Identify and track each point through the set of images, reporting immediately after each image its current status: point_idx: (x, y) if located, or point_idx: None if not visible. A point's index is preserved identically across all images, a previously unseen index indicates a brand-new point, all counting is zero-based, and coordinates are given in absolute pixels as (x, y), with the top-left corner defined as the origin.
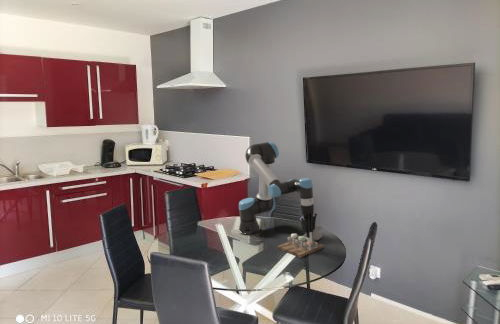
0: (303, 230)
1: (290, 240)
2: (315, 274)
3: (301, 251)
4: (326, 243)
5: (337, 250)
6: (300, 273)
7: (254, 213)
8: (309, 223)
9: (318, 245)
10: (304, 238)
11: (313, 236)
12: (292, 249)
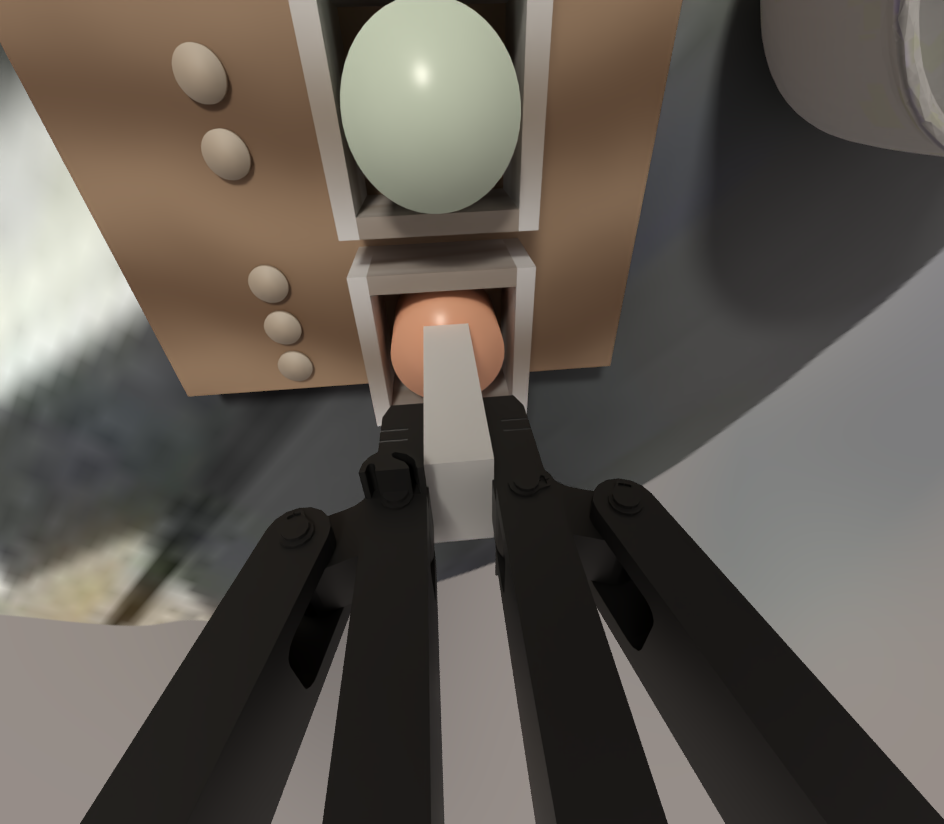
0: (255, 575)
1: None
2: (199, 612)
3: (259, 332)
4: (747, 276)
5: (620, 469)
6: (87, 570)
7: None
8: (538, 791)
9: (570, 339)
10: (457, 205)
11: (802, 75)
12: (146, 156)
